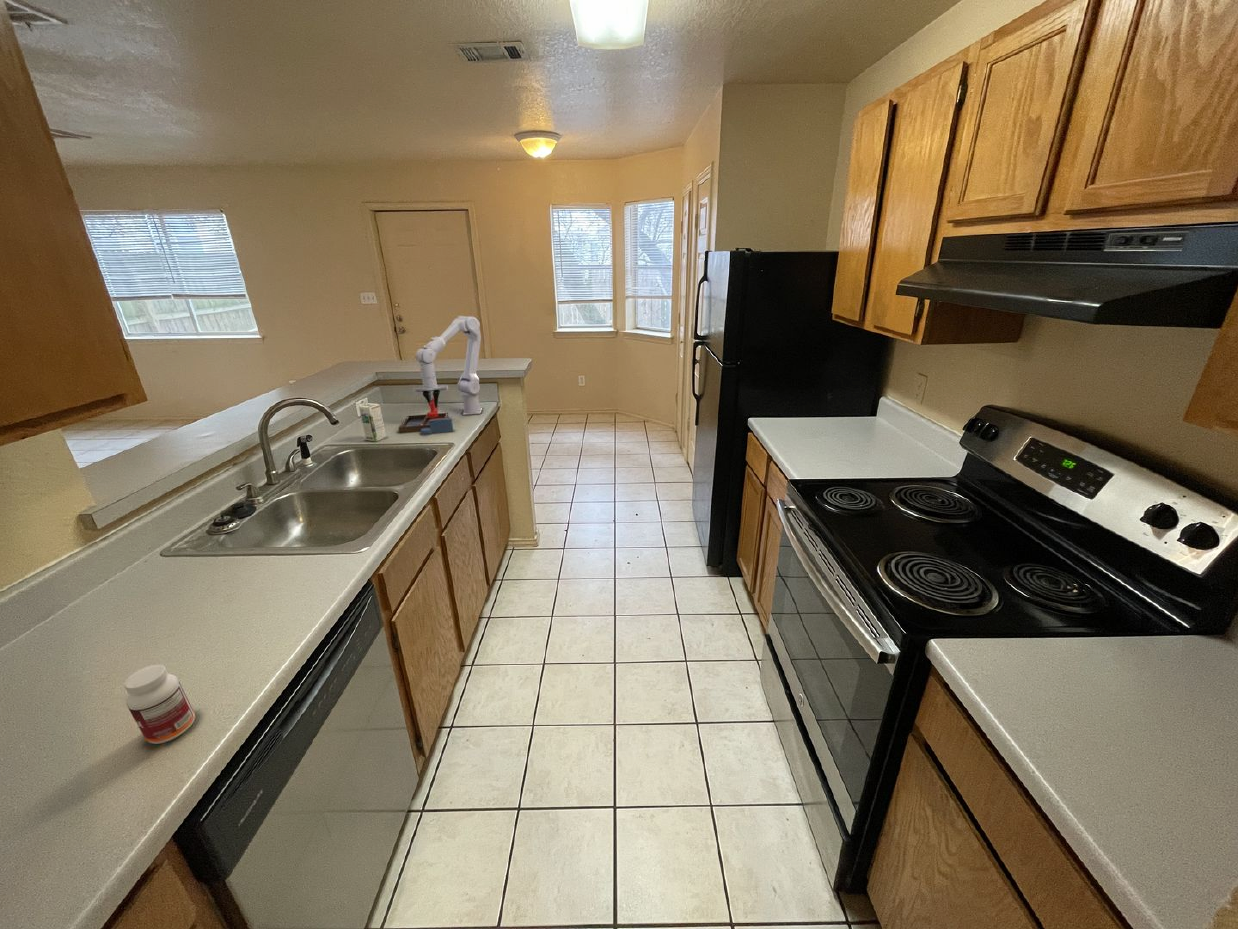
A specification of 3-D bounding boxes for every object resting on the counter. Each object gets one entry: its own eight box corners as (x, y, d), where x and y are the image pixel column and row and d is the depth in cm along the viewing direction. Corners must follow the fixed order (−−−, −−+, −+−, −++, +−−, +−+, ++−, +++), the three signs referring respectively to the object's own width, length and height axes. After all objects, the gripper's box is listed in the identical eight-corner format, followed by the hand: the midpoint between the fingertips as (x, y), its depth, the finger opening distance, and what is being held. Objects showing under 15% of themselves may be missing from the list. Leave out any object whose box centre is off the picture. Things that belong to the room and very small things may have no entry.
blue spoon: (453, 429, 217) (451, 417, 215) (452, 432, 213) (450, 420, 211) (422, 432, 215) (420, 419, 213) (420, 435, 211) (418, 422, 209)
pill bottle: (149, 724, 81) (121, 672, 77) (197, 705, 84) (173, 654, 80) (143, 753, 76) (113, 699, 72) (194, 732, 79) (168, 679, 75)
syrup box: (365, 440, 207) (357, 406, 202) (376, 435, 212) (369, 402, 207) (376, 441, 205) (368, 407, 200) (387, 437, 210) (379, 403, 205)
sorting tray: (408, 421, 231) (407, 415, 230) (448, 417, 233) (447, 412, 232) (399, 432, 215) (398, 427, 214) (443, 429, 218) (442, 423, 217)
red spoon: (431, 410, 230) (429, 398, 227) (441, 409, 230) (439, 397, 228) (426, 418, 218) (424, 405, 216) (437, 417, 218) (435, 405, 216)
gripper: (409, 380, 215) (415, 410, 220) (444, 377, 217) (449, 408, 222) (412, 376, 221) (418, 406, 226) (446, 374, 223) (451, 404, 229)
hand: (434, 407), depth 225 cm, fingers closed on red spoon
